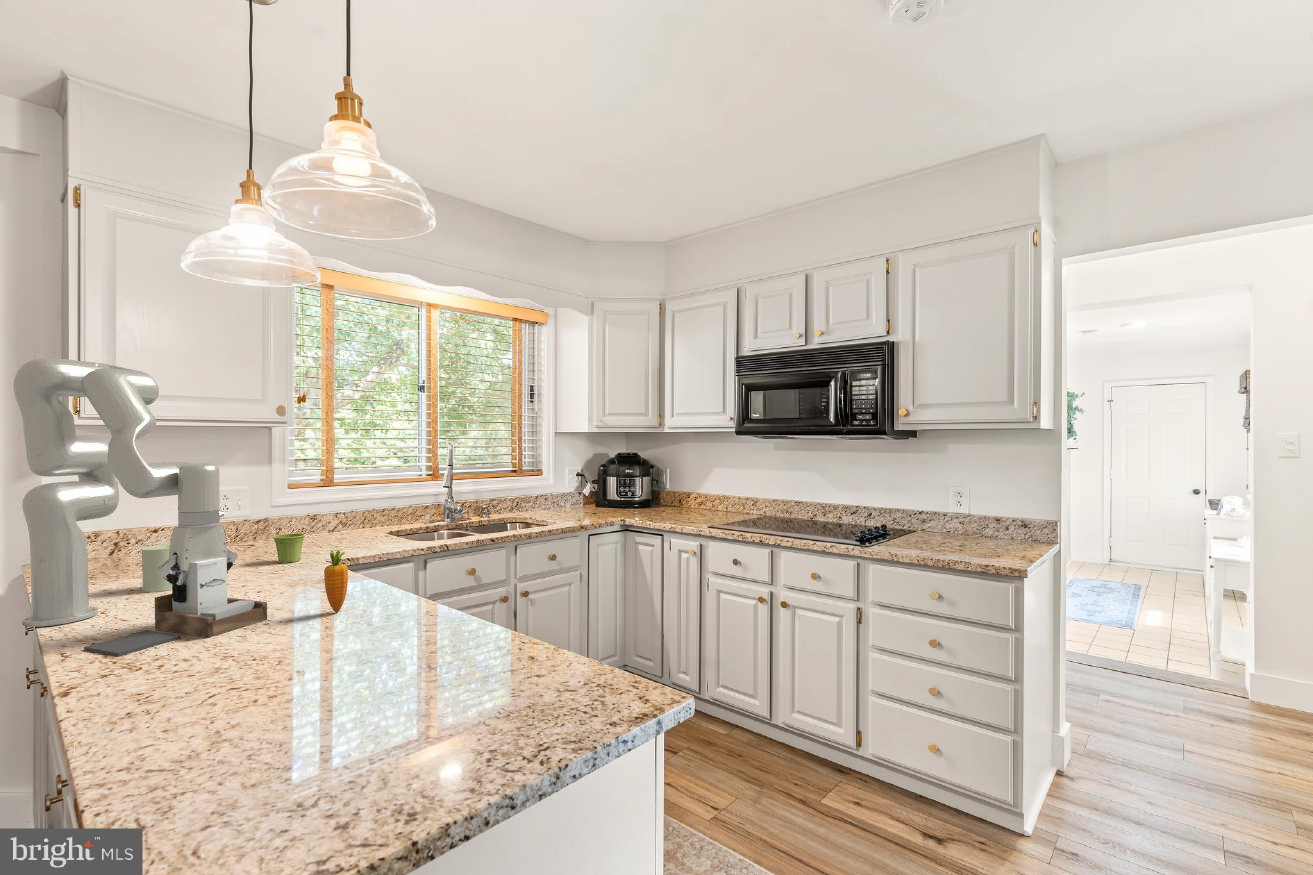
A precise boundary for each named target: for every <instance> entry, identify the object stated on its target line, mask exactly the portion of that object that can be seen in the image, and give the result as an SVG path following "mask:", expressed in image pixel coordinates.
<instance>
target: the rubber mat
mask: <svg viewBox="0 0 1313 875" xmlns="http://www.w3.org/2000/svg"><path fill="white" fill-rule="evenodd" d="M181 638H182V637H181V634H177V633H170V632H164V631H162V632H161V631H158V630H149V629H146V630H145V629H144V630H142V631H137V632H133V633H130V634H126V635H123V636H118V637H116V638H112V639H108V640H104V641H101V642H97V643H94V644H89V645H86V646H84V647H83V651H88V652H93V653H97V654H105V655H108V656H109V655H110V656H115V657H122V656H124V655H129V654H132V653H135V652H138V651H141V650H145V649H148V648H152V647H155V645H156V646H159V645H162V644H165V643H168V642H172V641H175V640H179V639H181Z"/></svg>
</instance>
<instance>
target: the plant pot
mask: <svg viewBox="0 0 1313 875" xmlns="http://www.w3.org/2000/svg"><path fill="white" fill-rule="evenodd" d="M305 536H306V533H282V534H277V535H273V536H272V539H274V543H275V547H276V548H275V549H276V553H277V554H276V555H277V559H278V563H280V564H289V563H296V562H300V560H301V557H302V549H303V542H304V540H305Z"/></svg>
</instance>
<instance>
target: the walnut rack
mask: <svg viewBox="0 0 1313 875" xmlns="http://www.w3.org/2000/svg"><path fill="white" fill-rule="evenodd" d="M236 601H254V609H253V610H249V611H246V612H242V613H239V614H235V615H232V616H228V617H225V618H221V619H218V620H214V621H213V617H208V616H200V615H193V614H186V613H178V612H172V593H168V594H163V595H160V596H159V595H158V596H154V629H157V630H156V631H160V632H161V631H162V632H167V631H169V632H168V633H173V634H180V633H182V635H188V636H193V637H200V636H201V637H202V636H203V637H202V638H207V639H209V638H212V636H213V637H216V636H218V635H222V634H225V633H228V632H231V631H234V630H238V629H241V628H245V627H247V626H251V625H255V624H257V623H260V622H264V621H267V620H268V601H261V600H254V599H253V600H251V599H245V598H235V597H229V596H227V604H230V603H233V602H236Z"/></svg>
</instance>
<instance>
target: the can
mask: <svg viewBox="0 0 1313 875" xmlns="http://www.w3.org/2000/svg"><path fill="white" fill-rule="evenodd" d="M169 549H170V543H165V544H156V545H149V546H145V547H142V548H141V562H142V563H141V564H142V568H141V570H142V589H141V591H142V593H159V592H158V591H162V592H165V591H164V590H169V591H172V590H171V589H172V584H170V583H169V582H168V581H167V580H165V579H164V578H163V576H161V574H160V573H159V572H158V571H157V569H158V568H159V567H160V566H161V565H162V564H163V563H164V562H166V561H167V560H168V559H169ZM169 571H170V573H171V574H172V571H171V570H169Z"/></svg>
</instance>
